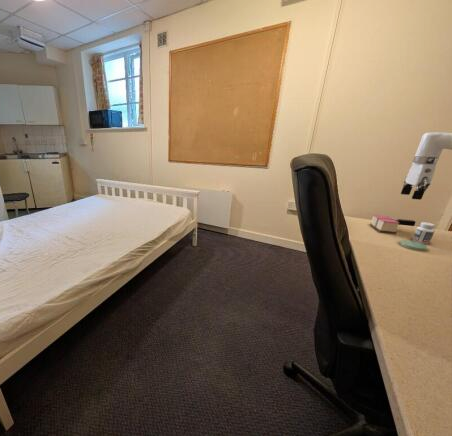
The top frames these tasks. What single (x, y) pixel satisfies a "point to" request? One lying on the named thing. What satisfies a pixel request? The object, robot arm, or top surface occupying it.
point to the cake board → (381, 230)
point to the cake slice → (377, 218)
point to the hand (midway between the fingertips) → (410, 196)
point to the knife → (401, 222)
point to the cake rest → (387, 225)
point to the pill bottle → (424, 233)
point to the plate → (413, 245)
